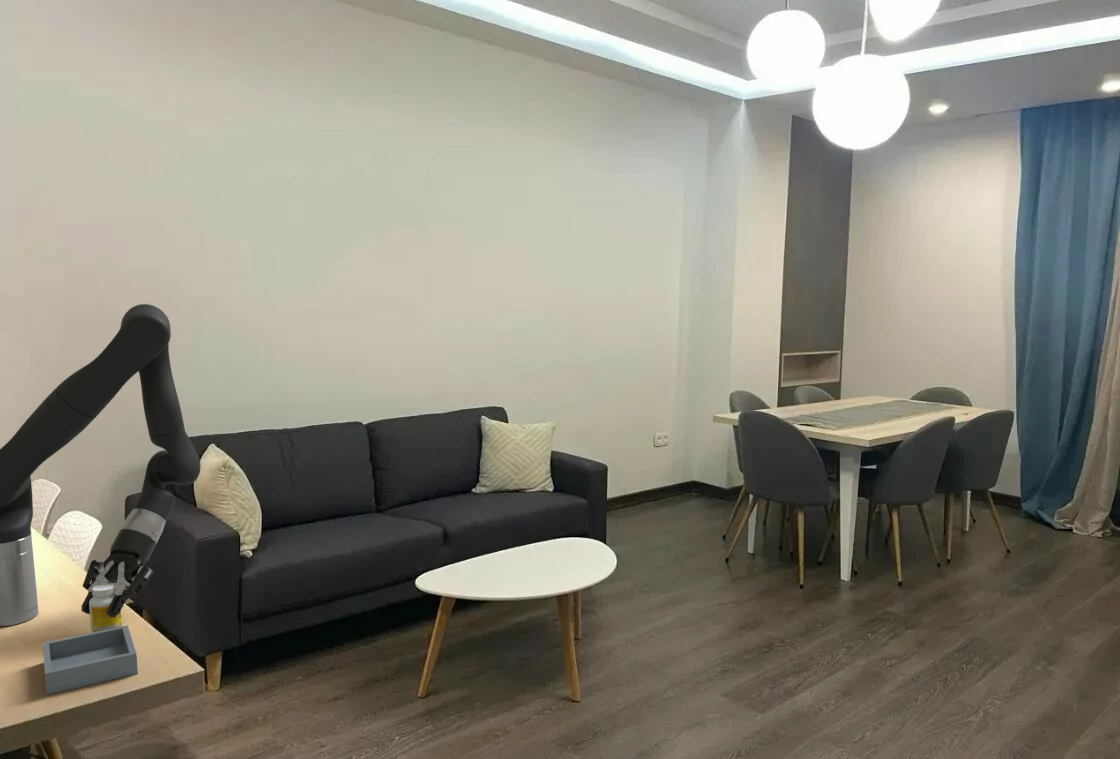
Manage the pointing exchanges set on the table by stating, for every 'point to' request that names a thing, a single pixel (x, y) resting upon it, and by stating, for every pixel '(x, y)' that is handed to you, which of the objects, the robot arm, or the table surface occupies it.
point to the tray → (89, 659)
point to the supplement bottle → (103, 608)
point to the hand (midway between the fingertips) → (98, 613)
